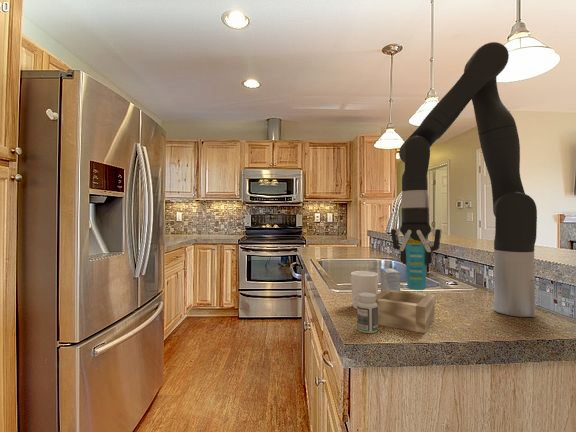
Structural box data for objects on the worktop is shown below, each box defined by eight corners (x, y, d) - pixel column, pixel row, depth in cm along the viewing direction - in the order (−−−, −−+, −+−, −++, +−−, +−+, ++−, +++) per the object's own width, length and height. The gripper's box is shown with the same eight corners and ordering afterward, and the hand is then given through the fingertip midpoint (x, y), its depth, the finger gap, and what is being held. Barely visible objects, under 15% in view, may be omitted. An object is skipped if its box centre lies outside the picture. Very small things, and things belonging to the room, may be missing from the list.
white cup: (345, 307, 96) (345, 273, 96) (359, 302, 102) (359, 270, 102) (369, 313, 90) (369, 277, 90) (383, 307, 96) (383, 273, 96)
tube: (403, 289, 94) (402, 223, 94) (402, 286, 99) (401, 222, 99) (431, 291, 92) (430, 222, 92) (429, 287, 97) (428, 222, 97)
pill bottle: (375, 326, 79) (375, 292, 79) (380, 333, 75) (380, 296, 75) (355, 326, 80) (355, 291, 79) (359, 333, 75) (359, 296, 75)
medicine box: (400, 299, 106) (400, 272, 106) (386, 299, 106) (386, 272, 106) (393, 293, 113) (393, 268, 113) (380, 293, 114) (380, 268, 114)
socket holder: (434, 318, 86) (434, 295, 86) (424, 333, 75) (425, 307, 75) (385, 310, 93) (385, 289, 93) (369, 323, 82) (369, 299, 82)
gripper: (443, 206, 95) (445, 264, 95) (393, 207, 102) (394, 261, 102) (440, 205, 88) (441, 267, 88) (386, 207, 96) (387, 264, 96)
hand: (416, 264), depth 95 cm, fingers closed on tube, 6 cm apart
